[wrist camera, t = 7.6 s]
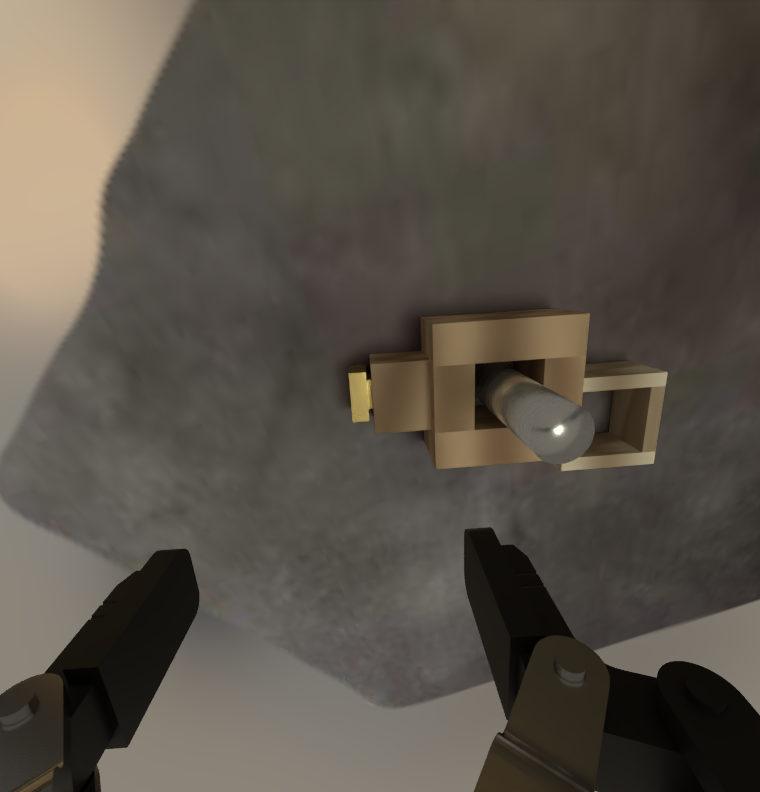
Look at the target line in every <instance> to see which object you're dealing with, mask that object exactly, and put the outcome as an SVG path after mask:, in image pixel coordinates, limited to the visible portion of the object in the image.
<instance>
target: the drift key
mask: <svg viewBox="0 0 760 792" xmlns="http://www.w3.org/2000/svg"><path fill="white" fill-rule="evenodd" d="M349 384H350V396H351V407H352V418H353V422H363V421H369V409H374V408H373V394H372V379H371V373H368V374H366V366H365V364H359V365H350V366H349Z"/></svg>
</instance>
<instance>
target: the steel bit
mask: <svg viewBox="0 0 760 792" xmlns="http://www.w3.org/2000/svg"><path fill="white" fill-rule="evenodd" d="M475 396H476V397H477V398H478V399H479V400H480V401H481V402H482V403H483V404H484V405H485V406H486V407H487V408H488V409H489V410H490V411H491V412H492V413H493V414H494V415H495V416H496V417H497V418H498V419H499V420H500V421H501V422H502V423H503V424H505V425H506V426H507V427H508V428H509V429H510V430H511V431H512V432H513V433H514V434H515V435H516V436H517V437H518V438H519V439H520V440H521V441H522V442H523V443H524V444H525V445H526V446H527V447H528V448H529V449H530V450H531V451H532V452H533V453H535V454H536V455H537V456H538V457H539V458H540V459H541V460H543V461H545V462H547V463H551V464H565V463H568V462H571V461H573V460H575V459H577V458H578V457H580V456H581V455H582V454H583V453H584V452H585V451H586V450H587V449H588V448H589V446H590V444H591V442H592V440H593V437H594V432H595V426H594V421H593V418H592V416H591V415H590V413H589V412H588V411H587V410H586V409H585V408H583V407H581V406H580V405H578V404H576V403H574V402H572V401H570V400H569V399H567V398H565V397H563V396H561V395H560V394H558V393H556V392H554V391H552V390H551V389H549V388H547V387H545V386H543V385H541V384H540V383H538V382H536V381H534V380H532V379H531V378H529V377H527V376H525V375H523V374H521V373H520V372H518V371H516V370H514V369H512V368H511V367H509V366H507V365H505V364H503V363H501V362H492V363H478V364H475Z"/></svg>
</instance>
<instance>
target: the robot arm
mask: <svg viewBox="0 0 760 792" xmlns="http://www.w3.org/2000/svg"><path fill="white" fill-rule="evenodd" d="M464 576H465V585H466V590H467V595H468V598H469V602H470V605H471V608H472V611H473V614H474V617H475V621H476V624H477V627H478V630H479V633H480V637H481V640H482V643H483V646H484V649H485V652H486V656H487V659H488V662H489V665H490V668H491V672H492V675H493V678H494V681H495V684H496V687H497V691H498V694H499V697H500V700H501V703H502V707H503V710H504V713H505V716H506V719H507V720H508V723H507V725H506V728H505V730H504V732H503V733H500V732H499V733H497V735H496V736H495V738H494V740H493V742H492V745H491V747H490V750H489V752H488V755H487V758H486V760H485V763H484V766H483V768H482V771H481V774H480V776H479V779H478V782H477V784H476V787H475V790H474V792H594V791H598V792H760V715H759V714H758V713H757V712H756V711H755V709H754V708H753V707H752V706H751V704H750V703H749V702H748V701H747V700H746V699H745V697H744V696H743V695H742V694H741V693H740V692H739V691H738V690H737V689H736V688H735V687H734V686H733V685H731V684H730V683H729V682H728V681H726V680H725V679H724V678H722V677H721V676H719V675H718V674H716V673H714V672H712V671H711V670H709V669H707V668H704V667H702V666H699V665H696V664H693V663H689V662H684V661H673V662H669V663H666V664H664V665H663V666H662V667H661V668H660V669H659V671H658V675H657V678H655V677H651V676H646V675H642V674H638V673H633V672H629V671H624V670H621V669H617V668H614V667H611V666H609V665H606V664H605V663H604V662H603V661H602V660H601V658H600V657H599V656H598V655H597V654H596V653H595V652H594V651H593V650H592V649H591V648H589V647H588V646H587V645H585V644H583V643H582V642H580V641H578V640H576V639H575V638H574V636H573V635H572V633H571V631H570V630H569V628H568V626H567V624H566V623H565V621H564V619H563V617H562V616H561V614H560V612H559V610H558V609H557V607H556V605H555V603H554V602H553V600H552V598H551V597H550V595H549V593H548V591H547V590H546V588H545V587H544V586H543V583H542V581H541V579H540V577H539V576H538V575H537V574H536V570H535V569H534V567H533V565H532V564H531V562H530V560H529V558H528V557H527V556H526V555H525V554H524V553H523V552H521V551H520V550H519V549H518V548H516V547H515V546H514V545H500V543H499V541H498V539H497V537H496V535H495V533H494V531H493V529H492V528H491V527H488V528H475V529H465V533H464ZM198 606H199V589H198V585H197V581H196V577H195V573H194V569H193V565H192V561H191V557H190V553H189V551H188V550H187V549H173V550H160V551H156V552H155V553H154V554H153V555H152V557H151V558H150V559H149V560H148V562H147V563H146V564H145V565H144V567H143V568H142V569H141V571H135V572H134V573H133V574H131V575H130V576H129V577H127V578H126V579H125V580H123V581H122V582H121V583H120V584H118V585H117V586H116V587H115V588H114V590H113V591H112V592H111V593H110V595H109V596H108V597H107V598H106V599H105V600H104V602H103V605H101V606H99V608H98V609H97V610H96V611H95V613H94V614H93V615H92V618H91V620H88V621H87V622H86V623H85V625H84V626H83V627H82V628H81V629H80V631H79V632H78V633H77V634H76V635H75V637H74V638H73V639H72V641H71V642H70V643H69V644H68V645H67V646H66V648H65V649H64V650H63V651H62V652H61V654H60V655H59V656H58V657H57V659H56V660H55V661H54V662H53V663H52V665H51V666H50V667H49V668H48V669H47V670H46V672H45V673H44V674H41V675H36V676H33V677H30V678H28V679H26V680H24V681H21V682H20V683H18V684H16V685H14V686H12V687H11V688H10V689H8V690H6V691H5V692H4V693H2V694H1V695H0V792H101V785H100V774H99V769H98V767H97V763H98V761H99V760H100V758H101V756H102V754H103V752H104V750H105V749H113V748H126V747H128V745H129V744H130V742H131V740H132V738H133V736H134V734H135V732H136V730H137V728H138V726H139V724H140V722H141V720H142V718H143V716H144V715H145V713H146V711H147V709H148V707H149V705H150V703H151V701H152V699H153V697H154V695H155V693H156V691H157V689H158V687H159V686H160V684H161V682H162V680H163V678H164V676H165V674H166V672H167V670H168V668H169V666H170V664H171V662H172V660H173V659H174V656H175V654H176V653H177V651H178V649H179V647H180V645H181V643H182V641H183V639H184V637H185V635H186V633H187V631H188V629H189V627H190V626H191V624H192V622H193V620H194V618H195V616H196V613H197V610H198Z"/></svg>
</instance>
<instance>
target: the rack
mask: <svg viewBox="0 0 760 792" xmlns="http://www.w3.org/2000/svg"><path fill="white" fill-rule="evenodd" d="M667 373H668V372H666V371H662V370H659V369H655V368H652V367H648V366H645V365H642V364H638V363H635V362H631V361H620V362H606V363H593V364H585V373H584V384H583V392H592V391H605V390H613V398H612V407H611V416H610V424H609V432H605V433H594V437H593V440H592V442H591V444H590V446H589V448H588V449H587V450H586V451H585V452H584V453H583V454H582V455H581V456H580V457H578V458H577V459H575V460H573V461H571V462H568V463H565V464H554V465H555V466H556V467H557V468H558V469H559V470H561V471H569V470H581V469H593V468H606V467H618V466H630V465H643V464H654V457H655V451H656V444H657V438H658V431H659V425H660V418H661V412H662V405H663V399H664V393H665V386H666V380H667Z"/></svg>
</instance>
